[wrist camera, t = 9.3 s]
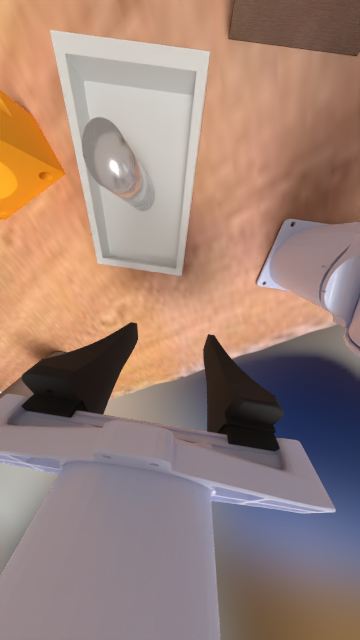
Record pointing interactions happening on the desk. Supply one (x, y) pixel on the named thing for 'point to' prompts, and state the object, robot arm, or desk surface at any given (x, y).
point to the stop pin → (116, 164)
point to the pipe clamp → (23, 158)
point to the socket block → (299, 24)
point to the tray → (138, 139)
